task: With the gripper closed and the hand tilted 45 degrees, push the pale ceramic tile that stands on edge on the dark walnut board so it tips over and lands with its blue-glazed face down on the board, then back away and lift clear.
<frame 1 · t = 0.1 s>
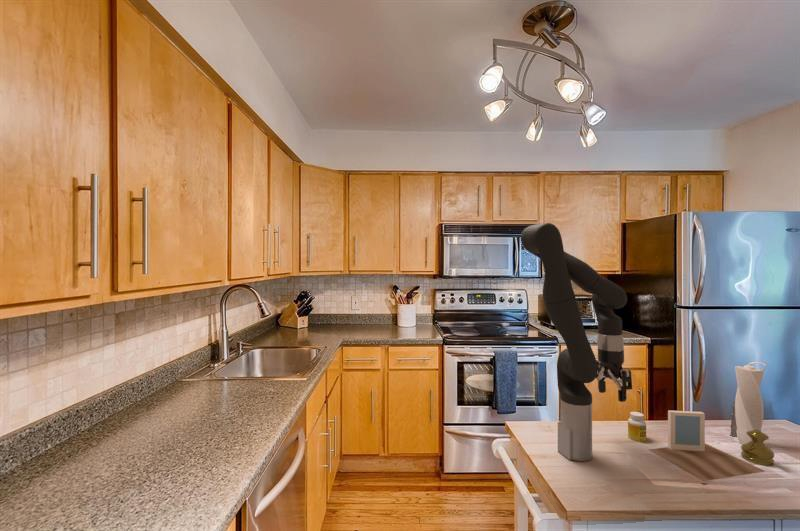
hand: (611, 396, 126), 17 cm above the worktop, tool pointing down, fingers open, 8 cm apart
skyscraper: (748, 444, 130), on the worktop
board: (703, 463, 117), on the worktop
supplement bottle: (636, 442, 131), on the worktop
tile: (686, 449, 123), point 1 cm above the worktop, touching board
brass knob: (757, 464, 117), on the worktop
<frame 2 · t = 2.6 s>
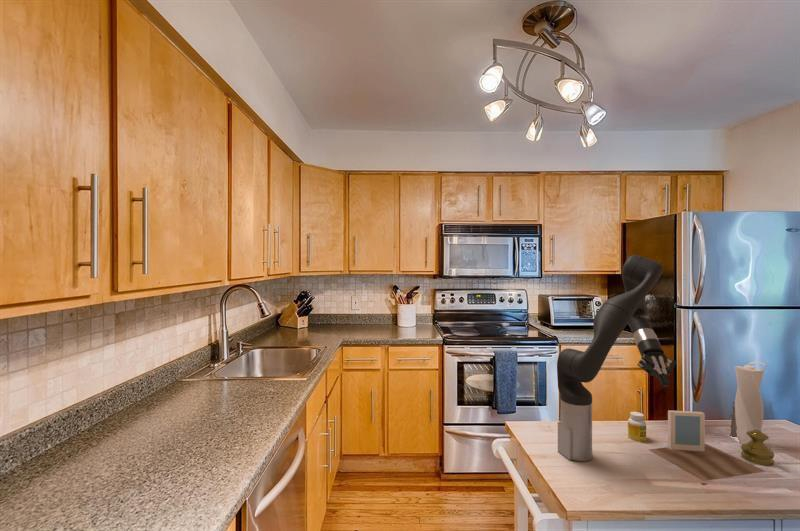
hand: (666, 385, 134), 18 cm above the worktop, tool tilted 45°, fingers closed
nothing on the worktop moved.
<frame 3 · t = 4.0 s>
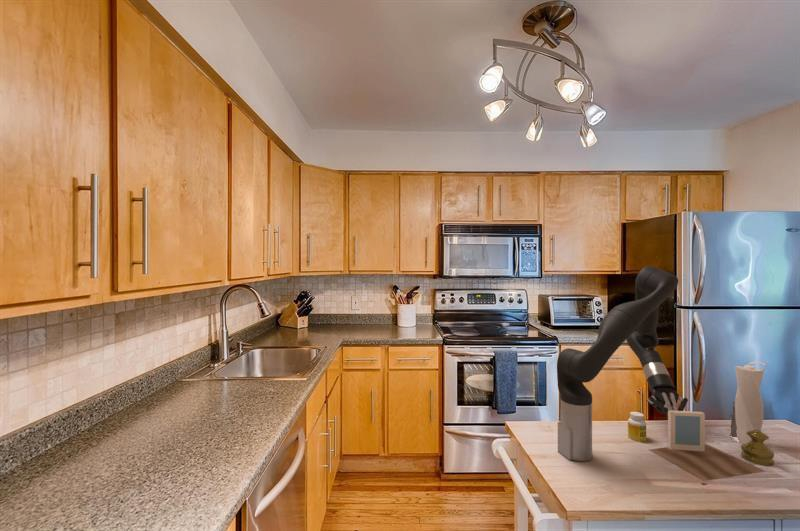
hand: (677, 425, 128), 7 cm above the worktop, tool tilted 45°, fingers closed
nothing on the worktop moved.
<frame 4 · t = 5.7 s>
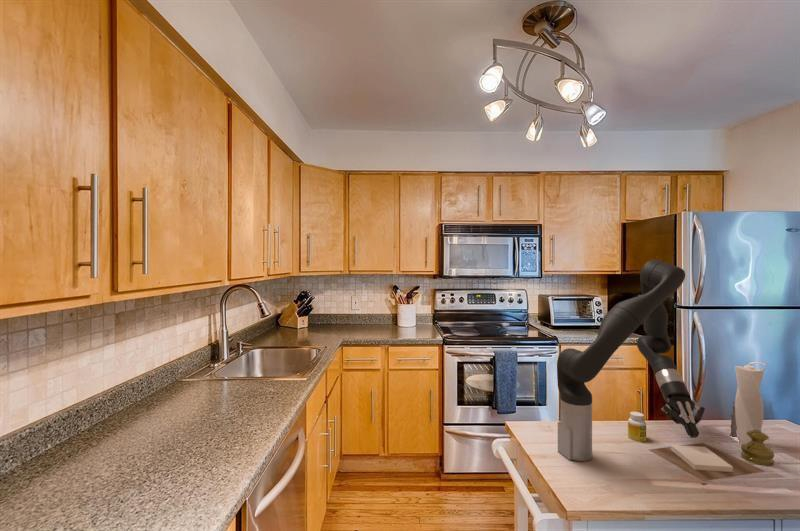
hand: (694, 436, 120), 7 cm above the worktop, tool tilted 45°, fingers closed
tile: (688, 448, 122), point 2 cm above the worktop, tilted 90°, touching board
everything else where it was.
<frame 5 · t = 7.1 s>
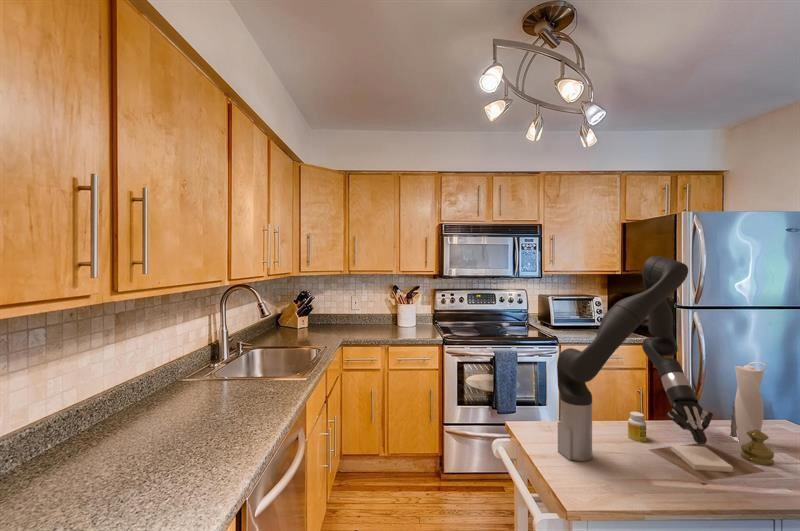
hand: (702, 443, 115), 7 cm above the worktop, tool tilted 45°, fingers closed
nothing on the worktop moved.
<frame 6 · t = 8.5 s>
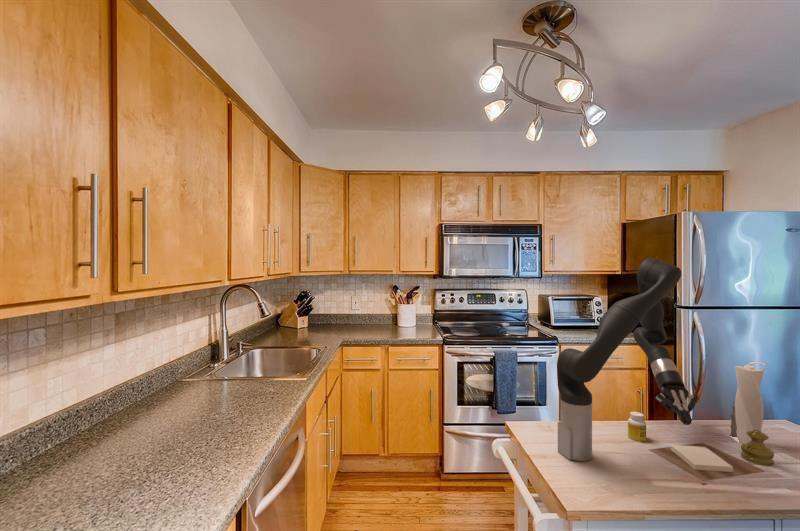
hand: (687, 423, 123), 9 cm above the worktop, tool tilted 45°, fingers closed
nothing on the worktop moved.
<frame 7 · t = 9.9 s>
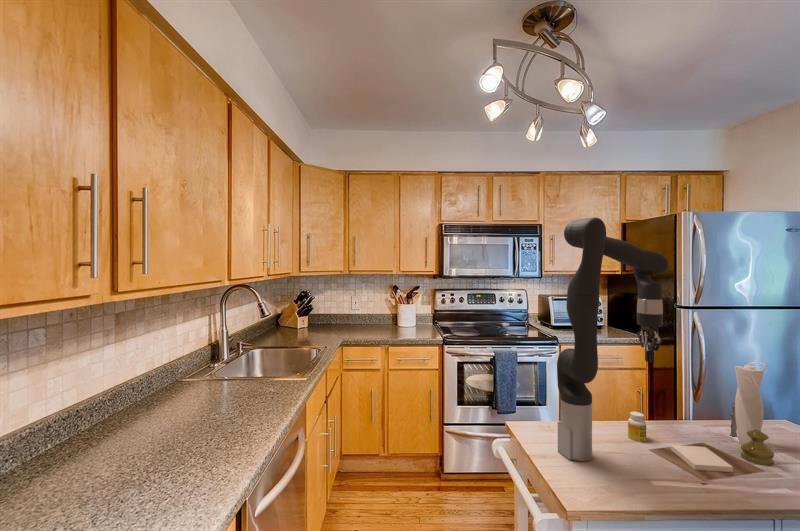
hand: (649, 361, 133), 27 cm above the worktop, tool pointing down, fingers closed
nothing on the worktop moved.
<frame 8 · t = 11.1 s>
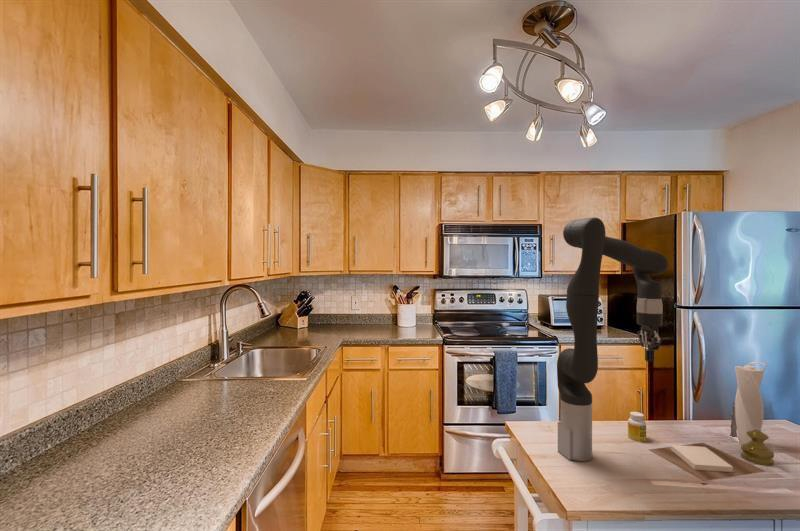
hand: (649, 361, 133), 27 cm above the worktop, tool pointing down, fingers closed
nothing on the worktop moved.
at the end: tile tilted 90°; tile inside the target area on the board (5.5 cm from its centre), point 2.0 cm above the board's base; the gripper is holding nothing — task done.
